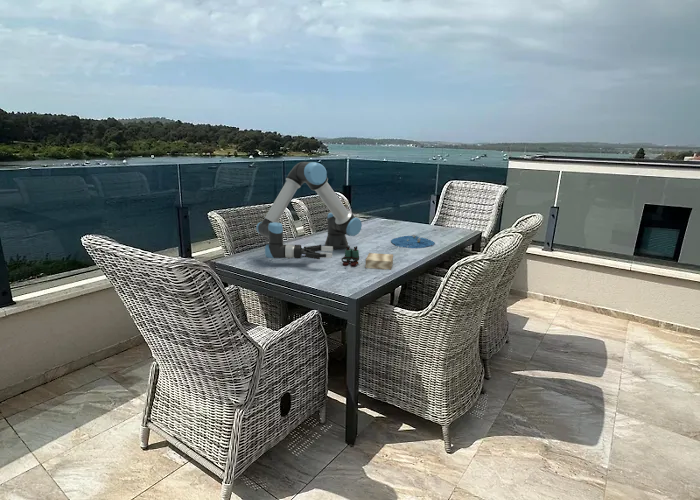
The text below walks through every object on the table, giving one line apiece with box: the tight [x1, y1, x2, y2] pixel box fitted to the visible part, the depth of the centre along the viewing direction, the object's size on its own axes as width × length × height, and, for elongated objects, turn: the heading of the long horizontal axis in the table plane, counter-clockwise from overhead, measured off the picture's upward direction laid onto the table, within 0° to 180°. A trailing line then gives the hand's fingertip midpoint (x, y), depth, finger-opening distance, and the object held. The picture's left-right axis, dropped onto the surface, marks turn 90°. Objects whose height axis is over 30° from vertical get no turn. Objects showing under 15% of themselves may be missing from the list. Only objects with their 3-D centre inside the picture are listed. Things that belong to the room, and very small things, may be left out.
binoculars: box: [341, 244, 360, 268], centre depth 209 cm, size 9×11×10 cm
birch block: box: [364, 252, 394, 271], centre depth 210 cm, size 14×14×5 cm
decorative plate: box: [390, 234, 435, 249], centre depth 260 cm, size 30×30×5 cm
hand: (332, 252), depth 208 cm, fingers open, 13 cm apart
